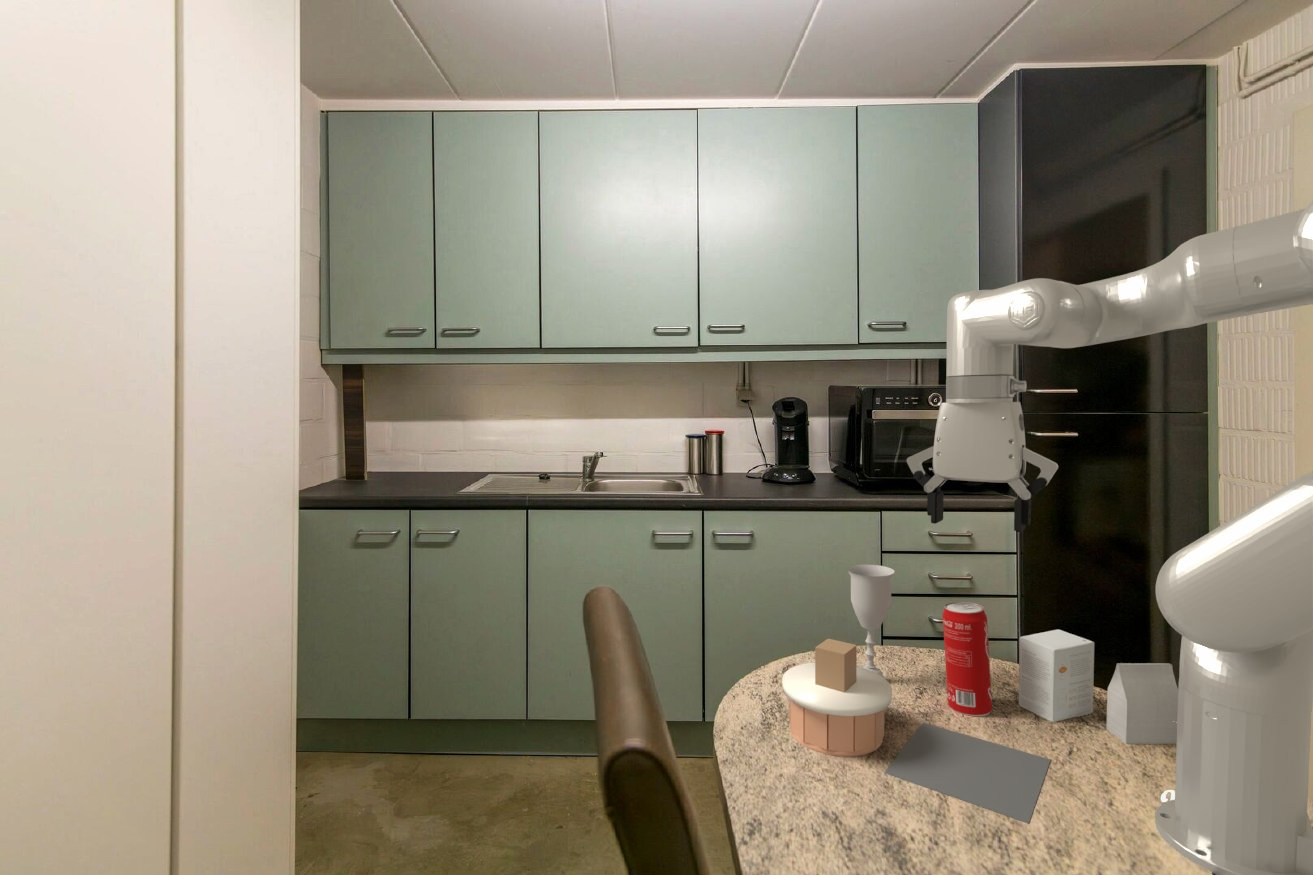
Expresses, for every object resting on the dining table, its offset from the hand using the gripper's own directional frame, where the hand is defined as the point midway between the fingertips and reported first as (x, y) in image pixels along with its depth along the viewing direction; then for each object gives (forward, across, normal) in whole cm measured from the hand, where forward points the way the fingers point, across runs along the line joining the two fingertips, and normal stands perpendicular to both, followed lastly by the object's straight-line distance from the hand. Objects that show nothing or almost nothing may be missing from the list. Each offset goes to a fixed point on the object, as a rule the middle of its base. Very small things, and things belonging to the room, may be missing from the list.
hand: (976, 525), depth 82 cm
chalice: (+28, +17, -9) cm, 34 cm away
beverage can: (+28, +3, -9) cm, 30 cm away
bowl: (+28, +15, +9) cm, 33 cm away
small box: (+29, -7, -16) cm, 34 cm away
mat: (+28, -1, +7) cm, 29 cm away
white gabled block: (+29, -17, -14) cm, 36 cm away
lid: (+22, +15, +9) cm, 28 cm away
